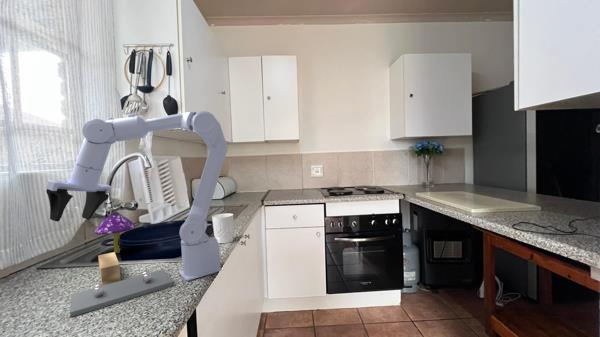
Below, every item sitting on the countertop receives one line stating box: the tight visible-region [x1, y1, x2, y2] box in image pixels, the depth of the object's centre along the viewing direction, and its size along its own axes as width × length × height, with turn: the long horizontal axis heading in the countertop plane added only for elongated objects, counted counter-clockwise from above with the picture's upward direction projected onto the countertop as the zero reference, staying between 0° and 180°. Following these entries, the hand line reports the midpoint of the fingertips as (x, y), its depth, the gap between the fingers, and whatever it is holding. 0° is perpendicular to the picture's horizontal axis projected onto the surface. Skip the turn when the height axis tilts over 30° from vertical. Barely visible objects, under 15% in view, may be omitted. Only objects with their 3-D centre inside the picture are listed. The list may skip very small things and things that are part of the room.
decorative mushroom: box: [93, 211, 137, 254], centre depth 98 cm, size 12×12×15 cm
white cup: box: [211, 212, 235, 245], centre depth 105 cm, size 8×8×10 cm
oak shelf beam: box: [98, 251, 121, 286], centre depth 77 cm, size 4×14×5 cm, turn 38°
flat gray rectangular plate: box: [69, 268, 175, 318], centre depth 67 cm, size 20×11×3 cm, turn 129°
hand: (70, 219), depth 68 cm, fingers open, 7 cm apart
